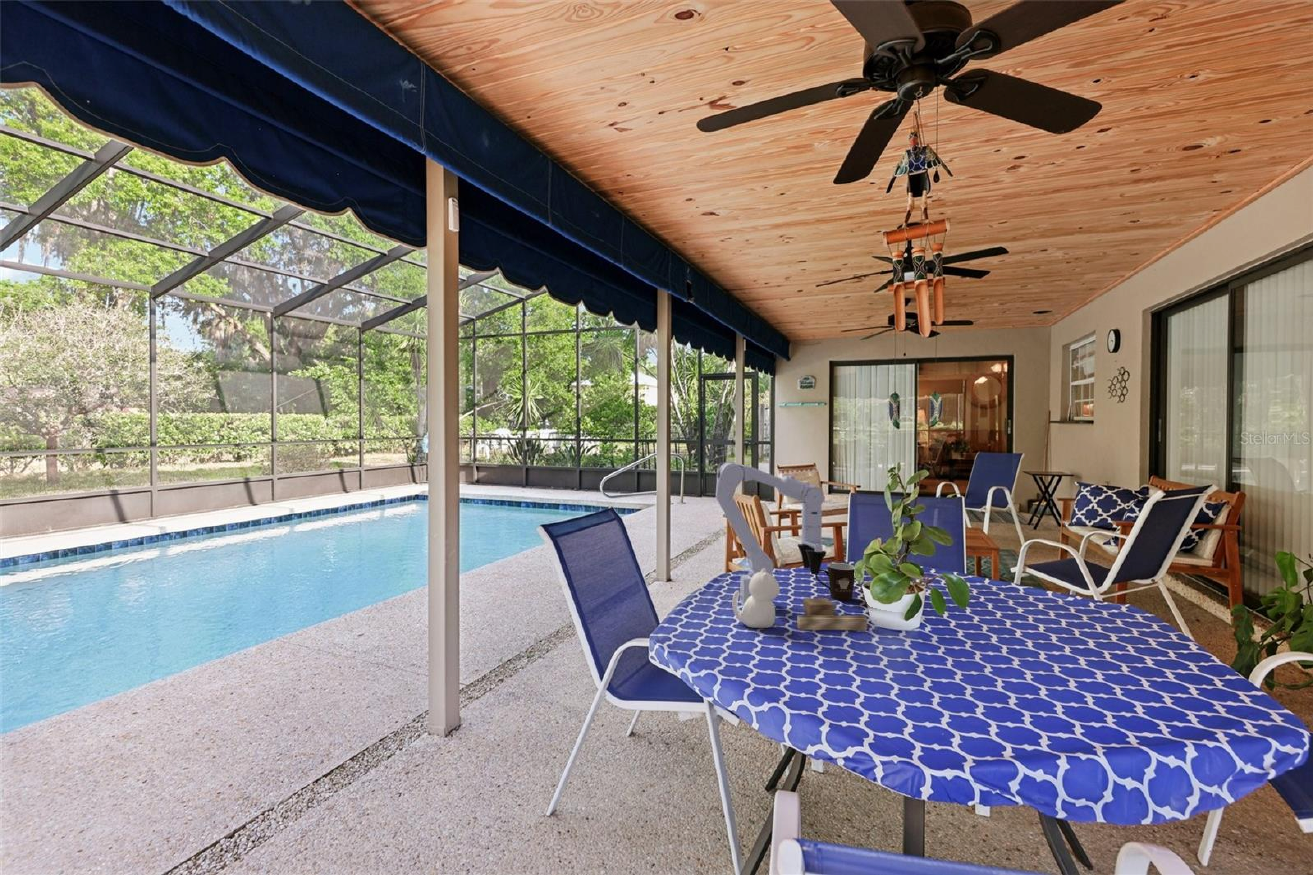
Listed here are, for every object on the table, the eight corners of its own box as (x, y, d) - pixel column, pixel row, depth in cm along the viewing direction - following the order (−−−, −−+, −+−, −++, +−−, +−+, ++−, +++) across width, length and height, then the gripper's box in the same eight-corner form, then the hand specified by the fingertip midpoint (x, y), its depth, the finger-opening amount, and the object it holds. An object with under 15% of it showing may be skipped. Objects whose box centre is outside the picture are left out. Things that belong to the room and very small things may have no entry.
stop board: (799, 629, 155) (799, 617, 154) (797, 626, 157) (797, 614, 157) (867, 630, 155) (867, 617, 155) (863, 626, 158) (863, 614, 158)
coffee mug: (858, 596, 186) (859, 565, 185) (851, 603, 178) (852, 571, 178) (821, 591, 192) (822, 560, 192) (813, 597, 184) (814, 565, 184)
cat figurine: (780, 632, 153) (782, 575, 152) (731, 629, 154) (733, 572, 154) (776, 621, 162) (778, 567, 161) (731, 618, 163) (733, 564, 163)
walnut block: (810, 618, 164) (810, 604, 164) (803, 612, 170) (803, 598, 170) (834, 618, 165) (834, 604, 165) (826, 611, 171) (826, 598, 171)
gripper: (832, 530, 168) (832, 577, 169) (817, 521, 183) (816, 565, 183) (808, 530, 168) (808, 577, 169) (795, 521, 183) (794, 565, 183)
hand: (811, 570), depth 176 cm, fingers open, 7 cm apart
